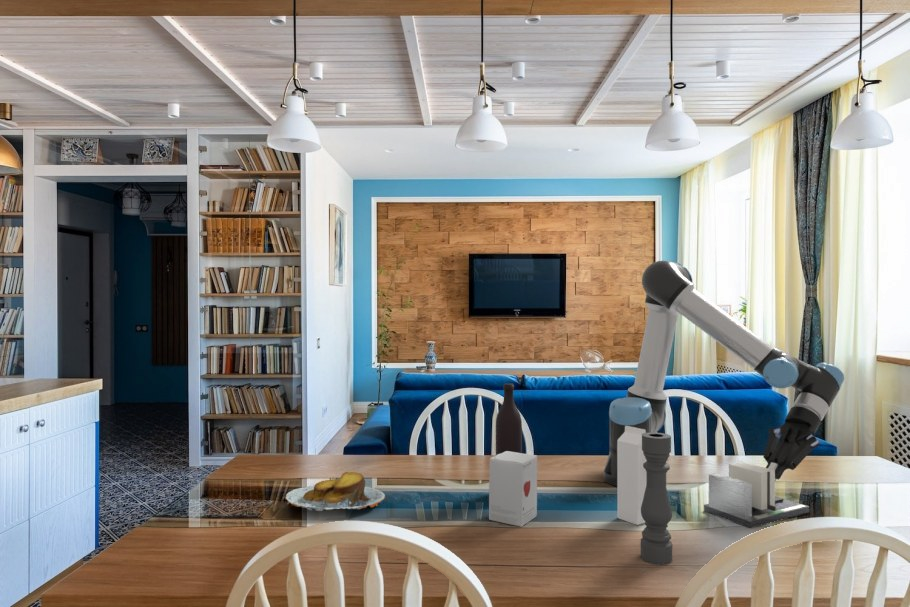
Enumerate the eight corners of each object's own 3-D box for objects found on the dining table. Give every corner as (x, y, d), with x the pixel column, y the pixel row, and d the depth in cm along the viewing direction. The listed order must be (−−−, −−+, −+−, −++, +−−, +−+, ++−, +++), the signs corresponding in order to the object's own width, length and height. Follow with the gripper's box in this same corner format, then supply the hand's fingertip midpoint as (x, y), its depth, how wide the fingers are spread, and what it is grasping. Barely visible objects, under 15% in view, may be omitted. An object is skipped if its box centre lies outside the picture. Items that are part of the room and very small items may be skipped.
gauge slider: (768, 512, 144) (768, 474, 144) (728, 499, 154) (728, 464, 154) (781, 509, 146) (781, 472, 146) (742, 496, 156) (742, 461, 156)
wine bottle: (527, 494, 165) (527, 383, 165) (511, 501, 160) (511, 386, 160) (506, 489, 170) (506, 381, 170) (490, 495, 165) (490, 384, 165)
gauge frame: (750, 528, 141) (750, 486, 141) (703, 510, 152) (703, 472, 152) (809, 512, 151) (809, 474, 151) (761, 497, 162) (761, 461, 162)
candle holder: (673, 554, 126) (673, 433, 126) (670, 566, 120) (670, 440, 120) (642, 549, 129) (642, 431, 128) (638, 561, 123) (638, 437, 123)
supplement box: (522, 527, 141) (522, 463, 141) (488, 520, 146) (488, 457, 146) (538, 516, 149) (538, 454, 149) (505, 509, 154) (505, 449, 154)
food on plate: (274, 499, 163) (274, 474, 163) (361, 484, 176) (361, 461, 176) (304, 528, 141) (304, 500, 141) (401, 509, 154) (401, 483, 154)
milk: (637, 525, 143) (637, 431, 142) (616, 518, 147) (616, 427, 147) (653, 519, 146) (653, 427, 146) (632, 512, 151) (632, 423, 151)
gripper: (837, 428, 156) (796, 503, 148) (789, 419, 168) (748, 488, 160) (824, 409, 154) (782, 484, 146) (776, 401, 165) (734, 471, 158)
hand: (764, 486), depth 153 cm, fingers closed
